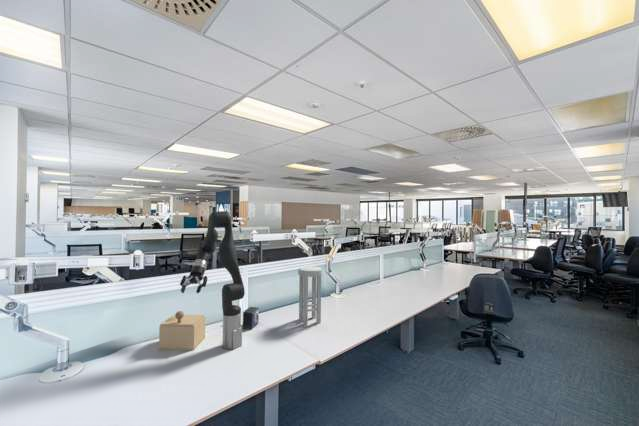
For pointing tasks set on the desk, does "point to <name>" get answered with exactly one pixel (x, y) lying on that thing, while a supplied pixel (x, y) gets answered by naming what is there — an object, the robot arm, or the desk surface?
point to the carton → (181, 336)
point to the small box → (250, 318)
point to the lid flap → (182, 320)
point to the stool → (303, 306)
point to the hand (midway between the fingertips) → (189, 292)
